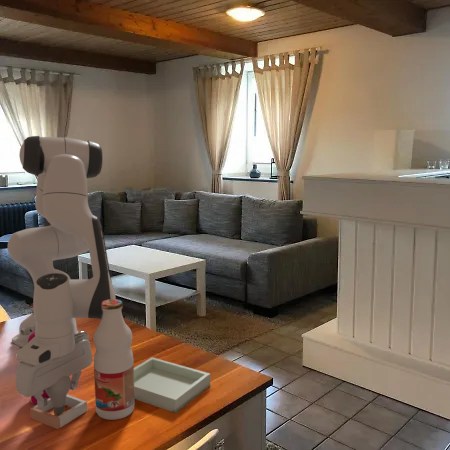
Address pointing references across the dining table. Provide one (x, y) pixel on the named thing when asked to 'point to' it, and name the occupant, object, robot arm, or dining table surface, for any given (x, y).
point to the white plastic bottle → (113, 364)
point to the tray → (168, 384)
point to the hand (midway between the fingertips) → (58, 396)
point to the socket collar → (58, 422)
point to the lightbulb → (59, 394)
